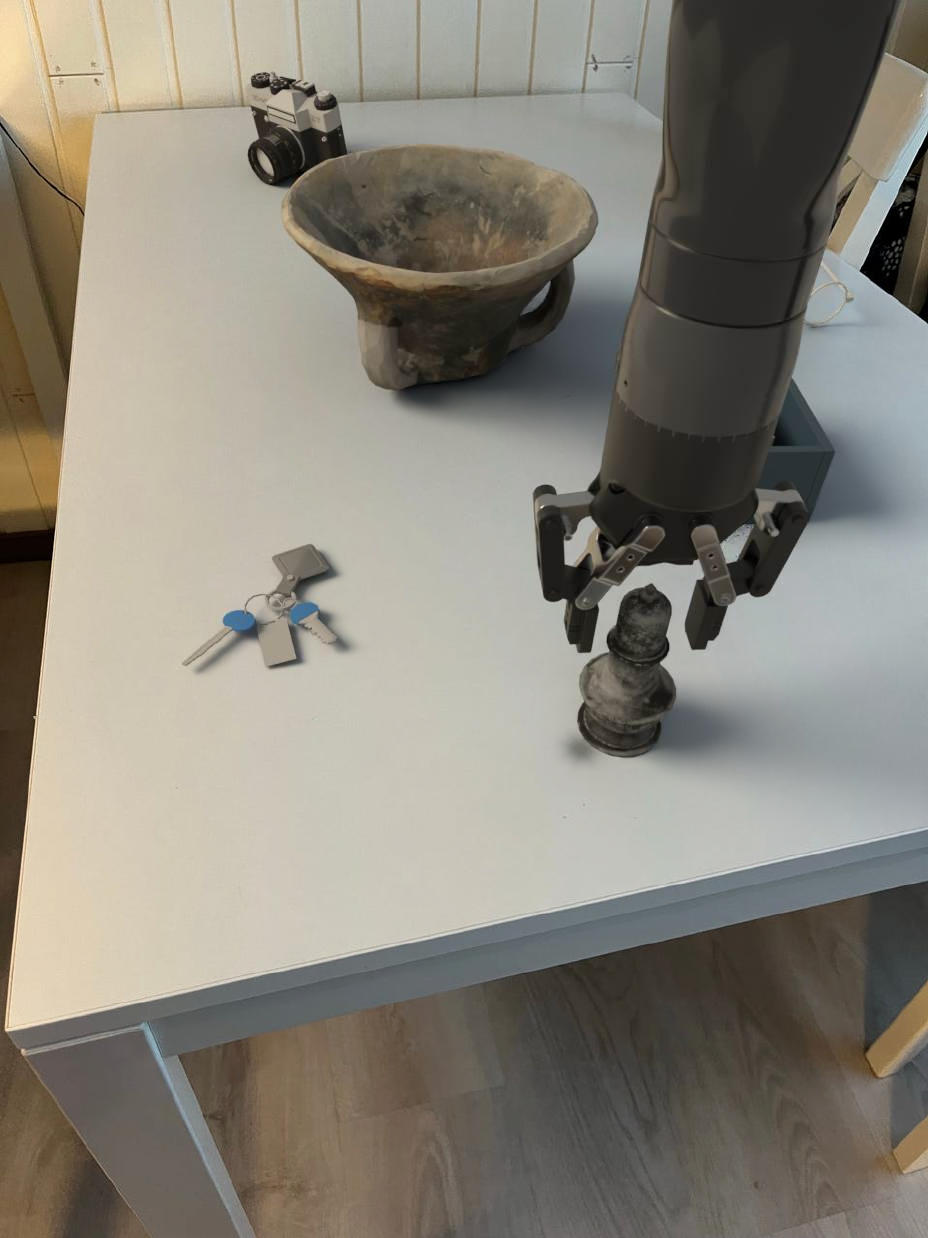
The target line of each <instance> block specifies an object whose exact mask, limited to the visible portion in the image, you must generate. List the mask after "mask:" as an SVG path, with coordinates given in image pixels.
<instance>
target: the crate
mask: <svg viewBox="0 0 928 1238" xmlns="http://www.w3.org/2000/svg"><path fill="white" fill-rule="evenodd" d="M774 437H775V439H774V442H773V445H772V446H770V448H769V451H768V455H767V458H766V461H765V464H764V467H763V471H762V474H761V477H760V480H759V482H758V484H757V486H756V488H758V489H768V490H772V489H773V487H774V486H775V485H776V484H778V483H780V482H783V481H790V482H792V483H793V484H794V486H795V488H796V490H797V492H798V493H799V494H800V496H801V498H802V500H803V502H804V504H805V507H806V509H807V511H808V513H809V515H810V520H809V522H810V521H811V518H812V515H813V513H814V511H815V508H816V506H817V502H818V500H819V498H820V494H821V492H822V490H823V486H824V483H825V481H826V480H827V479H826V478H827V476H828V474H829V470H830V467H831V465H832V462H833V460H834V457H835V455H836V449H835V448H834V446H833V444H832V443H831V441H830V439H829V437H828V436H827V434H826V433H825V431H824V429H823V427H822V426H821V424H820V422H819V420H818V419H817V417H816V415H815V414H814V412H813V411H812V409H811V407H810V406H809V404H808V402H807V400H806V399H805V396H804V395H803V393H802V392H801V390H800V388H799V386H798V385H797V383H796V382H795V380H794V378H793V377H792V378H791V381H790V384H789V388H788V391H787V394H786V397H785V400H784V403H783V406H782V410H781V413H780V416H779V419H778V423H777V426H776V429H775V432H774ZM755 523H756V520H755V518H754V516H753V517H752V518H751V519H750V520H749V521H747V522H746V523H745V524H744V525H755Z"/></svg>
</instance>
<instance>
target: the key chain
mask: <svg viewBox="0 0 928 1238" xmlns="http://www.w3.org/2000/svg"><path fill="white" fill-rule="evenodd" d="M271 560H272V562H273V564H274V565H275V567H276V568H277V570H278V571H279V572H280V574H281V576H282V578H281V581H280V582H279V584H278V585H277V586H276V588H275V589H272V590H270V591H269V592H268V593H259V594H258V593H257V594H254V595H252V596H251V597H249V598H248V599H247V600H246V601H245V603H244V605H243V609H236V610H232V611H228V612H227V613H226V614H225V615H224V616H223V617H222V624H223V625H224V627H223V628H222V629H220V630H218V632H216V633H215V634H214V635H213V636H212V637H211V638H210V639H208V640H207V641H205V642H204V643H202V645H200V646H199V648H198V649H195V651H194V652H193V653H192V654H191V655H189V656H188V657H187V658H186V659H184V660H183V661H182V662H181V665H182V666H185V667H187V666H189V665H190V664H192V663H193V662H194V661H195V660H197V659H198V658H199V657H202V656H203V655H204V654H206V653H207V651H208V650H210V649H211V648H212V647H213V646H214V645H216V644H218V643H219V642H220V641H222V639H224V638H225V637H226V636H227V635H229V633H231V632H232V631H234V632H238V633H243V632H247V631H249V630H251V629H252V628H254V626H255V625H256V624H258V625H257V626H256V632H257V637H258V640H259V646H260V650H261V654H262V659H263V662H264V667H265V668H268V667H272V666H275V665H278V664H282V663H286V662H290V661H293V660H297V655H296V652H295V647H294V643H293V639H292V635H291V632H290V628H289V624H288V620H287V619H286V618H283V617H282V616H283V615H284V613H285V612H288V613H289V618H290V621H291V623H292V624H295V625H296V626H299V625H303V626H304V628H305V629H309V630H310V632H311V635H312V636H315V635H316V637H317V639H320V638H321V639H322V640H321V642H322V643H323V644H326V645H330V644H334V643H335V642H336V641H337V640H338V637H337V635H335V634H334V633H333V631H331V629H329V628H328V627H327V626H326V625H325V624H324V623H323V622H322V621H321V620H320V619H319V614H320V613H321V609H320V608H319V605H317V604H316V603H314V602H311V601H309V602H308V601H303V602H300V603H299V601H298V596H297V594H296V593H295V592H294V591H295V589H296V587H297V585H298V584H299V583H300V581H302V580H305V579H308V578H311V577H314V576H317V575H319V574H323V573H326V572H328V571H329V570H330V567H329V564H328V563H327V562H326V561H325V559H324V558H323V556H322V555H321V554H320V552H319V551H318V549H317V548H316V546H315V545H314V544H312V543H307V544H305V545H301V546H297V547H295V548H292V549H289V550H287V551H282V552H280V553H277V554H274V555H273V556H272V557H271ZM275 595H282V596H287V598H285V599H284V600H283V602H282V601H281V600H280V599H279V598H278V597H276V596H275ZM260 596H264V600H263V602H264V606H265V607H266V608H267V609H268V610H269V611H272V612H275V613H280V614H279V616H278V617H276V618H275V619H271V620H267V621H258V620H256V617H255V615H254V614H253V613H252V612H250V611H248V610H247V605H248V604H249V601H251V600H253V599H254V598H257V597H260ZM271 598H273V599H275V600H276V601H277V602H278V603H279V604H280V606H274V605H272V604H270V603H271V602H270V599H271ZM289 600H291V601H290V603H289V604H287V605H286V602H288V601H289Z"/></svg>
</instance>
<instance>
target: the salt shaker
mask: <svg viewBox="0 0 928 1238" xmlns="http://www.w3.org/2000/svg"><path fill="white" fill-rule="evenodd" d="M672 615H673V605H672V603H671V601H670V600H669V598H668V596H666V594H664V592H662V591H660V590H659V589H658V588H657V587H656V586H655V585H654V583H648V584H647V585H645V586H641V587H635V588H634V589H631V590H629V591H628V592H627V593H626V594H624V595H623V597H622V599H621V600H620V604H619V608H618V613H617V618H616V624H615V625H613V626H612V627H611V628H610V629H609V631H608V632H607V634H606V641H605V643H606V647H607V649H608V652H604V653H600V654H598V655H596V656H594V657H593V658H591V659H590V660H589V661H588V662H587V663H586V664H584V666H583V668H582V670H581V671H580V674H579V682H578V686H579V688H578V689H579V692H580V695H581V697H582V699H583V702H582V703H581V705H580V707H579V709H578V711H577V718H576V719H577V720H576V722H577V727H578V730H579V732H580V735H582V737H583V739H584V740H585V741H586V742H587V743H588V744H589V745H590V746H591V747H593V748H594V749H596V750H598V751H599V752H601V753H603V754H607V755H609V756H612V757H619V758H630V757H631V758H633V757H637V756H641V755H643V754H645V753H647V752H648V751H650V750H652V749H653V748H654V746H655V745H656V744H657V743H658V742H659V740H660V737H661V733H662V722H661V720H662V719H663V718H664V717H666V716H668V714H669V713H670V712H671V711H672V709H673V708H674V707H675V703H676V700H677V686H676V683H675V680H674V678H673V676H672V675H671V674H670V672H669V671H668V669H666V668H665V667H664V665H662V664H661V662H663V661H664V660H665V659H666V658H667V657H668V654H669V652H670V647H671V646H670V641H669V638H668V637H667V634H668V629H669V627H670V622H671V619H672Z"/></svg>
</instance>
